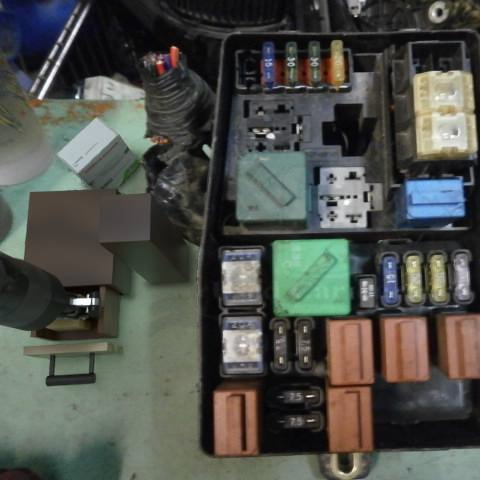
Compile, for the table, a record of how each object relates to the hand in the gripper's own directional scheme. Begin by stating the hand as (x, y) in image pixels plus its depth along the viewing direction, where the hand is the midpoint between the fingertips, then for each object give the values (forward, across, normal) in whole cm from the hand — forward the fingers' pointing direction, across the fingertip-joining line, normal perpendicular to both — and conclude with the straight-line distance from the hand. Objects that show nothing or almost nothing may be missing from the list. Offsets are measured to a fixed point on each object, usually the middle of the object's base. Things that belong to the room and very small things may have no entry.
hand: (75, 315), depth 79 cm
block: (0, 0, 0) cm, 0 cm away
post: (+6, +12, +8) cm, 16 cm away
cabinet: (+6, 0, +11) cm, 12 cm away
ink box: (+6, +3, +24) cm, 25 cm away
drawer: (+5, 0, -1) cm, 5 cm away
